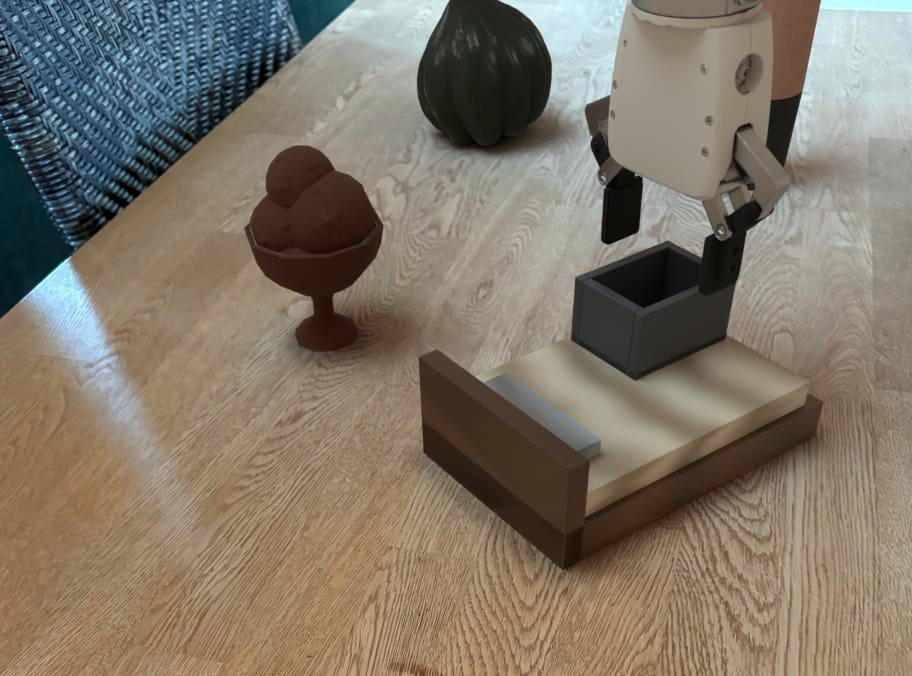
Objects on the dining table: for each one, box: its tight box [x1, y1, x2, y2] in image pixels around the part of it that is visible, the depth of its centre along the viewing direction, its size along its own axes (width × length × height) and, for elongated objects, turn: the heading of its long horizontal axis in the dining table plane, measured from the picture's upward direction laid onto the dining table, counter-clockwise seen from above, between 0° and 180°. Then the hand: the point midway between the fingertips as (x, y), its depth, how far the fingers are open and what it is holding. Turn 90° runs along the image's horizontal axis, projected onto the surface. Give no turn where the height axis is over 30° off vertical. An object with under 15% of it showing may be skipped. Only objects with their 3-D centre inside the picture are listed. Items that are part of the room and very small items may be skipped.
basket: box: [570, 240, 737, 380], centre depth 74 cm, size 9×7×5 cm
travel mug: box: [719, 0, 822, 191], centre depth 99 cm, size 8×8×20 cm
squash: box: [416, 0, 553, 147], centre depth 113 cm, size 14×15×15 cm
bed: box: [418, 334, 825, 570], centre depth 72 cm, size 24×16×8 cm, turn 125°
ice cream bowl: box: [243, 144, 385, 352], centre depth 82 cm, size 11×11×15 cm
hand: (666, 262), depth 71 cm, fingers open, 9 cm apart
